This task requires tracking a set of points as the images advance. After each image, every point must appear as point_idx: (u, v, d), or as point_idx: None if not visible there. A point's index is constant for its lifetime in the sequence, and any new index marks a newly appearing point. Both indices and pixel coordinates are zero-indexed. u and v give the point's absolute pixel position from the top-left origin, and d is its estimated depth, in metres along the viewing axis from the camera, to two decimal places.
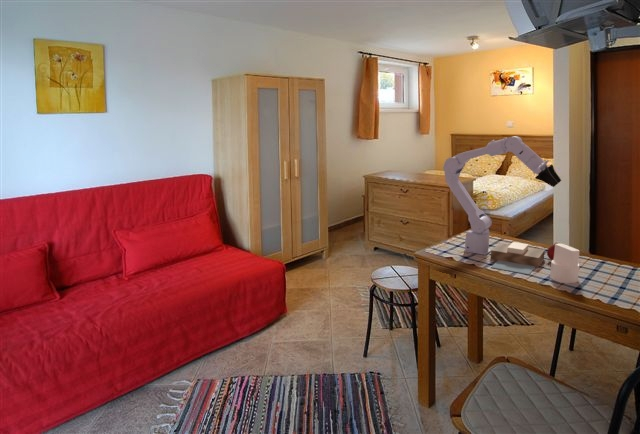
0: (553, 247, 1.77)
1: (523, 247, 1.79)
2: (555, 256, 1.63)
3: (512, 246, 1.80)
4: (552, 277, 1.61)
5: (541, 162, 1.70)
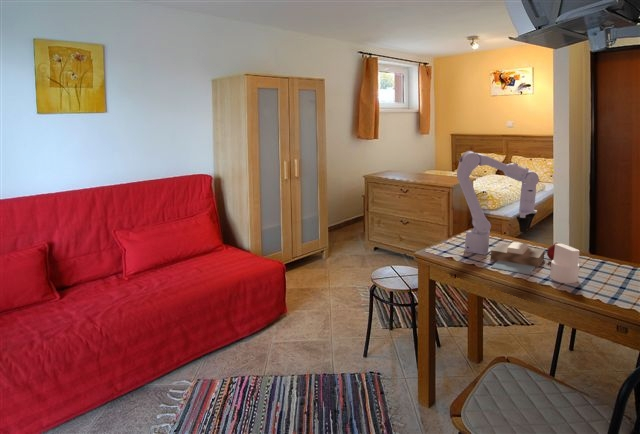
0: (553, 247, 1.77)
1: (523, 247, 1.79)
2: (555, 256, 1.63)
3: (512, 246, 1.80)
4: (552, 277, 1.61)
5: (531, 209, 1.83)
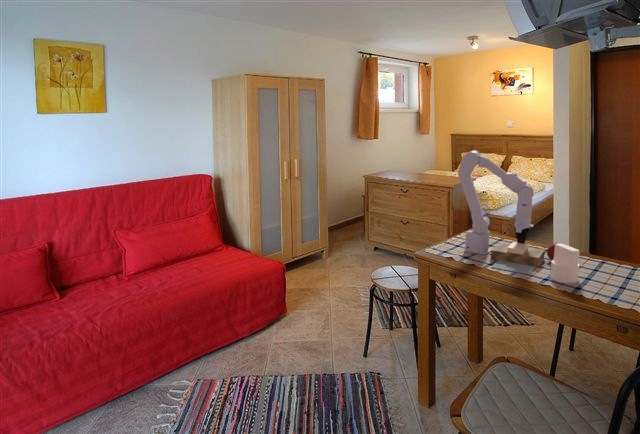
0: (553, 247, 1.77)
1: (523, 247, 1.79)
2: (555, 256, 1.63)
3: (512, 246, 1.80)
4: (552, 277, 1.61)
5: (527, 224, 1.81)
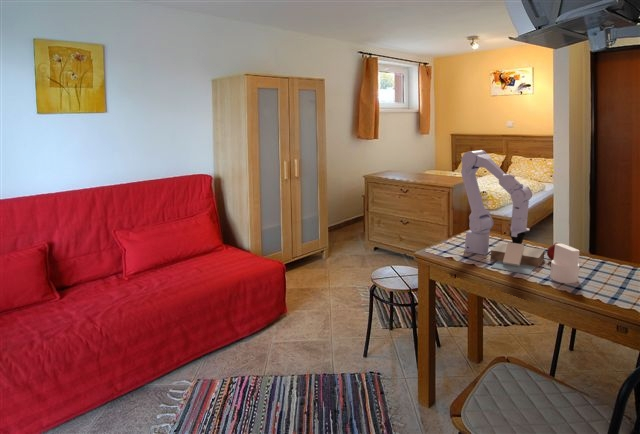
0: (553, 247, 1.77)
1: (518, 257, 1.74)
2: (555, 256, 1.63)
3: (507, 257, 1.76)
4: (552, 277, 1.61)
5: (523, 227, 1.75)
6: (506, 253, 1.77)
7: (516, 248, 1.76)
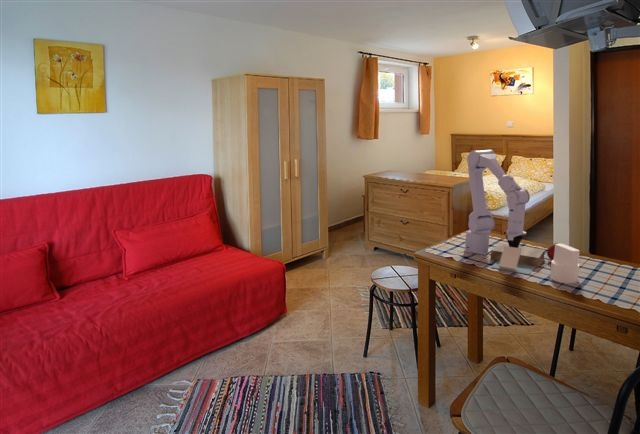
0: (553, 247, 1.77)
1: (515, 261, 1.69)
2: (555, 256, 1.63)
3: (503, 261, 1.71)
4: (552, 277, 1.61)
5: (520, 231, 1.71)
6: (502, 257, 1.72)
7: (512, 252, 1.72)
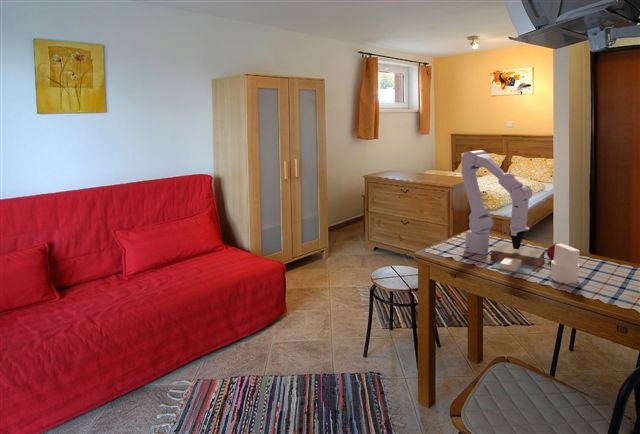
0: (553, 247, 1.77)
1: (516, 263, 1.72)
2: (555, 256, 1.63)
3: (505, 262, 1.73)
4: (552, 277, 1.61)
5: (523, 226, 1.74)
6: (504, 260, 1.75)
7: (514, 260, 1.75)
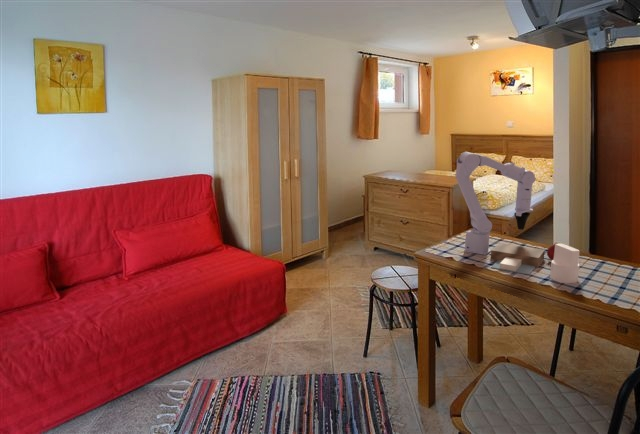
0: (553, 247, 1.77)
1: (516, 263, 1.72)
2: (555, 256, 1.63)
3: (505, 262, 1.73)
4: (552, 277, 1.61)
5: (527, 208, 1.86)
6: (504, 260, 1.75)
7: (514, 260, 1.75)
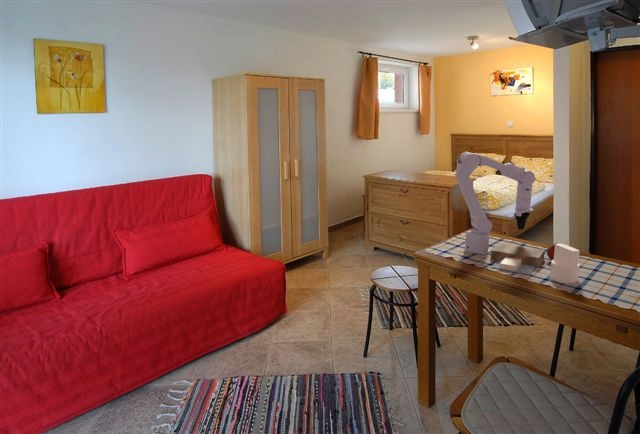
0: (553, 247, 1.77)
1: (516, 263, 1.72)
2: (555, 256, 1.63)
3: (505, 262, 1.73)
4: (552, 277, 1.61)
5: (527, 208, 1.86)
6: (504, 260, 1.75)
7: (514, 260, 1.75)
